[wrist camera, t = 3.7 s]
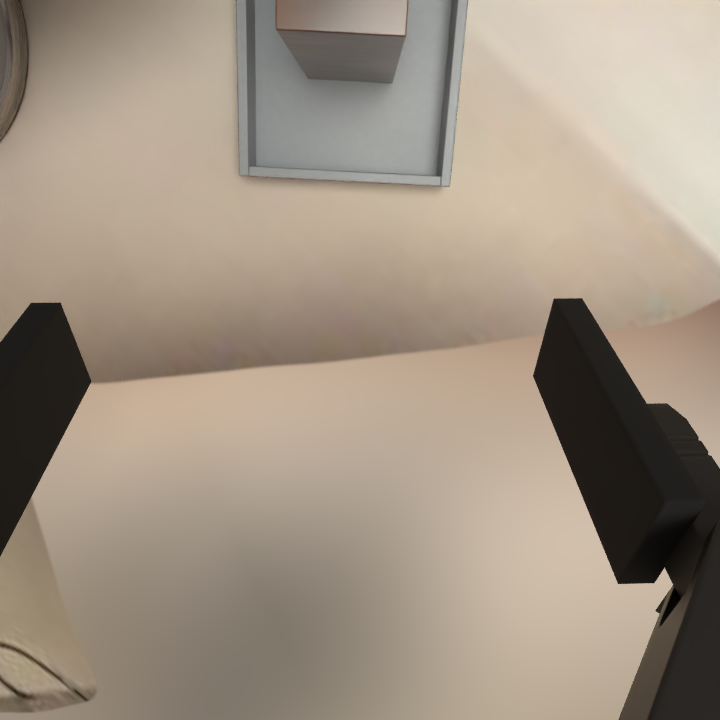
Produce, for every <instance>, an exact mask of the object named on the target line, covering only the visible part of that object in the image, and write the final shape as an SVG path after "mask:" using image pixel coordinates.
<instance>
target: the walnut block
mask: <svg viewBox="0 0 720 720" xmlns="http://www.w3.org/2000/svg"><path fill="white" fill-rule="evenodd" d="M408 3H409V0H275V28H276V30H277V32H278V34H279V35H280V37H281V38H282V40H283V41H284V43H285V44H286V46H287V47H288V49H289V50H290V52H291V53H292V55H293V56H294V58H295V60H296V61H297V63H298V64H299V66H300V67H301V69H302V70H303V72H304V73H305V75H306V76H307V78H308V79H320V80H339V81H357V82H376V83H393V80H394V76H395V73H396V69H397V66H398V62H399V59H400V55H401V52H402V48H403V45H404V41H405V38H406V32H407V18H408Z"/></svg>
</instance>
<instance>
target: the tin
mask: <svg viewBox="0 0 720 720" xmlns="http://www.w3.org/2000/svg"><path fill="white" fill-rule="evenodd" d="M467 7H468V0H409V3H408V18H407V32H406V38H405V41H404V45H403V48H402V52H401V55H400V59H399V62H398V66H397V69H396V73H395V76H394V80H393V83H376V82H357V81H339V80H320V79H308V78H307V76H306V75H305V73H304V72H303V70H302V69H301V67H300V66H299V64H298V63H297V61H296V60H295V58H294V56H293V55H292V53H291V52H290V50H289V49H288V47H287V46H286V44H285V43H284V41H283V40H282V38H281V37H280V35H279V34H278V32H277V30H276V28H275V0H236V25H237V79H238V133H239V175H240V176H257V177H275V178H294V179H313V180H332V181H351V182H370V183H389V184H408V185H426V186H445V187H449V186H450V181H451V171H452V160H453V150H454V140H455V130H456V119H457V109H458V99H459V89H460V78H461V68H462V58H463V48H464V37H465V27H466V17H467Z"/></svg>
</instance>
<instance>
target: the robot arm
mask: <svg viewBox="0 0 720 720" xmlns="http://www.w3.org/2000/svg"><path fill="white" fill-rule="evenodd" d="M26 72H27V37H26V28H25V22H24V16H23V12H22V8H21V4H20V0H0V139H1V138H2V137H3V135H4V134H5V132H6V131H7V129H8V128H9V126H10V124H11V122H12V121H13V119H14V117H15V114H16V112H17V110H18V107H19V104H20V101H21V98H22V94H23V90H24V85H25V80H26ZM533 377H534V379H535V382H536V384H537V387H538V389H539V392H540V394H541V397H542V399H543V401H544V404H545V406H546V409H547V411H548V413H549V416H550V419H551V421H552V423H553V426H554V428H555V431H556V433H557V436H558V438H559V440H560V443H561V445H562V448H563V450H564V453H565V455H566V458H567V460H568V462H569V465H570V467H571V470H572V472H573V475H574V477H575V479H576V482H577V484H578V487H579V489H580V491H581V494H582V496H583V499H584V502H585V504H586V506H587V509H588V511H589V514H590V516H591V518H592V521H593V523H594V526H595V528H596V531H597V533H598V536H599V538H600V541H601V543H602V545H603V548H604V550H605V553H606V555H607V558H608V560H609V562H610V565H611V567H612V570H613V572H614V575H615V577H616V580H617V582H618V584H631V583H632V584H633V583H654V582H655V581H656V580H657V578H658V577H659V575H660V574H661V572H662V570H663V569H664V567H665V569H666V571H667V573H668V575H669V577H670V579H671V581H672V583H673V586H672V588H671V589H670V590H669V592H668V593H667V595H666V596H665V598H664V599H663V600H662V602H661V603H660V605H659V606H658V608H657V609H656V612H658V613H660V615H659V617H658V620H657V622H656V625H655V627H654V630H653V633H652V635H651V638H650V640H649V643H648V645H647V648H646V651H645V653H644V656H643V658H642V661H641V663H640V666H639V668H638V671H637V673H636V676H635V679H634V681H633V684H632V686H631V689H630V692H629V694H628V697H627V699H626V702H625V704H624V707H623V709H622V712H621V714H620V717H619V720H720V469H719V467H718V465H717V464H716V462H715V461H714V459H713V458H712V456H709V455H708V451H707V449H706V448H705V446H704V445H703V443H702V442H701V441H699V440H698V436H697V434H696V433H695V431H694V430H693V428H692V427H691V425H690V424H689V422H688V421H687V419H686V418H684V417H683V416H682V415H681V414H679V413H678V412H677V411H676V410H674V409H673V408H672V407H671V406H669V405H668V404H647V403H646V402H645V400H644V399H643V397H642V395H641V394H640V392H639V390H638V389H637V387H636V386H635V384H634V382H633V381H632V379H631V377H630V376H629V374H628V373H627V371H626V369H625V368H624V366H623V364H622V363H621V361H620V359H619V358H618V356H617V355H616V353H615V351H614V350H613V348H612V347H611V345H610V343H609V342H608V340H607V338H606V337H605V335H604V333H603V332H602V330H601V329H600V327H599V325H598V324H597V322H596V320H595V319H594V317H593V315H592V314H591V312H590V311H589V309H588V307H587V306H586V304H585V302H584V301H583V299H582V298H578V299H554V300H553V304H552V308H551V312H550V315H549V319H548V323H547V326H546V330H545V334H544V338H543V341H542V345H541V349H540V352H539V357H538V360H537V364H536V367H535V371H534V375H533ZM90 383H91V379H90V377H89V374H88V371H87V369H86V366H85V364H84V361H83V359H82V356H81V354H80V351H79V349H78V346H77V343H76V341H75V338H74V336H73V333H72V331H71V328H70V326H69V323H68V321H67V318H66V315H65V313H64V310H63V308H62V305H61V303H31V304H30V305H29V306H28V308H27V309H26V310H25V311H24V313H23V314H22V315H21V317H20V318H19V319H18V320H17V322H16V323H15V324H14V326H13V327H12V328H11V329H10V331H9V332H8V333H7V335H6V336H5V337H4V339H3V340H2V341H1V342H0V556H1V554H2V552H3V550H4V548H5V546H6V544H7V542H8V541H9V539H10V537H11V535H12V533H13V531H14V529H15V527H16V525H17V523H18V521H19V519H20V518H21V516H22V514H23V512H24V510H25V508H26V506H27V504H28V502H29V500H30V498H31V496H32V494H33V492H34V491H35V489H36V487H37V485H38V483H39V481H40V479H41V477H42V475H43V473H44V471H45V469H46V468H47V466H48V464H49V462H50V460H51V458H52V456H53V454H54V452H55V450H56V448H57V446H58V445H59V443H60V441H61V439H62V437H63V435H64V433H65V431H66V429H67V427H68V425H69V423H70V421H71V420H72V418H73V416H74V414H75V412H76V410H77V408H78V406H79V404H80V402H81V400H82V398H83V397H84V395H85V393H86V391H87V389H88V387H89V385H90Z"/></svg>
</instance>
